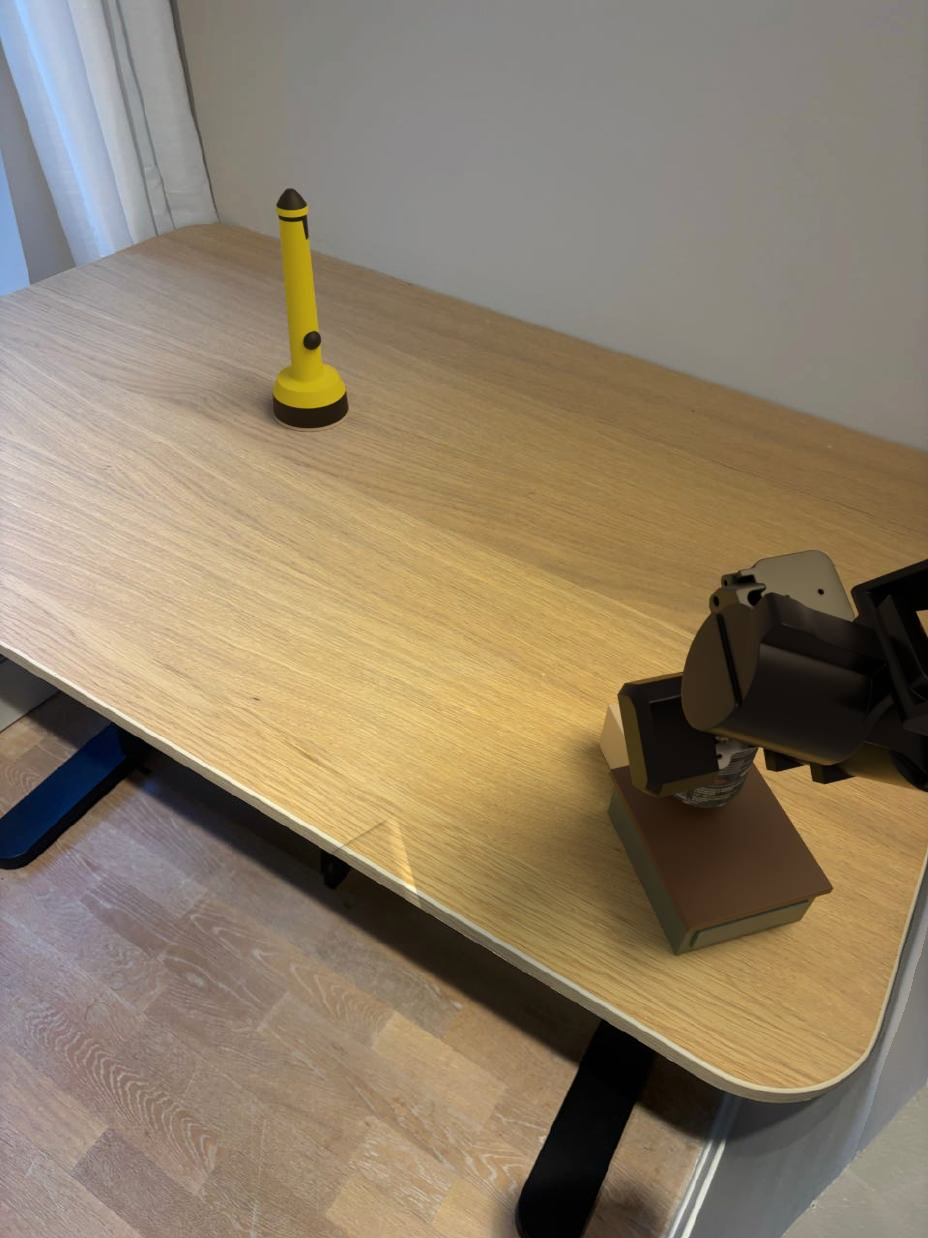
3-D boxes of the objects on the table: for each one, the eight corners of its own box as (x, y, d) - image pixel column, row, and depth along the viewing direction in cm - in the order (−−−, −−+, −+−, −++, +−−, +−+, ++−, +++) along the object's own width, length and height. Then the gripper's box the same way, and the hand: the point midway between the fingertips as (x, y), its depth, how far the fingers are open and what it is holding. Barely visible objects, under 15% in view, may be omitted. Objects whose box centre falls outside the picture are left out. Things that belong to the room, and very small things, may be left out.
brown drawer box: (809, 924, 60) (834, 888, 56) (672, 963, 57) (689, 928, 54) (722, 778, 68) (739, 739, 65) (599, 807, 66) (610, 768, 62)
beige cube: (696, 743, 64) (667, 692, 68) (634, 756, 63) (607, 704, 67) (681, 782, 68) (655, 732, 71) (622, 795, 67) (598, 744, 70)
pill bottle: (746, 754, 62) (792, 644, 54) (736, 822, 58) (785, 713, 50) (663, 731, 64) (696, 620, 56) (648, 795, 60) (682, 685, 52)
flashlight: (228, 183, 87) (270, 211, 82) (307, 168, 91) (352, 194, 86) (259, 405, 104) (296, 439, 99) (325, 384, 108) (363, 416, 103)
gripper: (1002, 525, 44) (813, 555, 59) (666, 586, 40) (556, 601, 55) (1038, 742, 44) (841, 716, 59) (708, 825, 40) (586, 774, 55)
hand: (710, 698), depth 57 cm, fingers closed on pill bottle, 6 cm apart
